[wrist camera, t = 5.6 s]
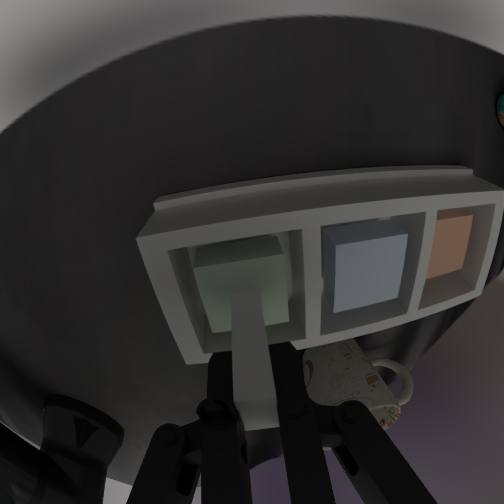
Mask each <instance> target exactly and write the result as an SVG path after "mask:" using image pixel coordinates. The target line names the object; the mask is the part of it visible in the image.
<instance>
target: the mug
mask: <svg viewBox="0 0 504 504" xmlns="http://www.w3.org/2000/svg"><path fill="white" fill-rule="evenodd" d="M377 365H381V366H385V367H388V368H390V369H392V370H394V371H395V372H396V373H398V374H399V376H400V377H401V379H402V381H403V388H402V391H401V393H400V394H399V395H396V396H393V394H392V393H391V391H390V390H389V388H388V387H387V385H386V384H385V382H384V381H383V380H382V378H381V377H380V375H379V374H378V372H377V371H376V369H375V368H374V366H377ZM303 369H304V379H305V385H306V389H307V393H308V395H309V397H310V398H311V399H312V400H313V401H314V402H316V403H318V404H320V405H328V406H338V405H340V404H341V403H342V402H345V401H348V400H357V401H360V402H362V403H363V404H364V405H366V406H367V408H368V409H369V410H370V412H371V413H372V415H373V416H374V417H375V419H376V420H377V421H378V423H379V424H380V425H381V427H382V428H383V430H385V429H387V428H388V427H389V426H391V425H392V424H393V423H394V422H395V421H396V419H397V418H398V417H399V415H400V413H401V408H400V405H402V404H404V403H406V402H407V401H408V400H409V399H410V397H411V395H412V392H413V380H412V377H411V375H410V373H409V371H408V370H407V369H406V368H405V367H404V366H402V365H401V364H399V363H398V362H395V361H392V360H389V359H386V358H375V359H370V360H369V359H368V358H367V356H366V355H365V354H364V352H363V351H362V349H361V348H360V346H359V345H358V344H357V342H356V341H355V340H354V338H350V339H346V340H342V341H337V342H333V343H328V344H324V345H319V346H315V347H310V348H307V349H306V350H305V352H304V355H303ZM323 450H332V449H331V447H323Z"/></svg>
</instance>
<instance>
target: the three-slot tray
mask: <svg viewBox="0 0 504 504" xmlns="http://www.w3.org/2000/svg"><path fill="white" fill-rule="evenodd" d="M153 204H154V208H155V211H154V213H153V214H152V215H151V217H150V218H149V220H148V221H147V222H146V224H145V225H144V227H143V228H142V230H141V231H140V232H139V234H138V235H137V237H136V240H137V244H138V247H139V250H140V252H141V255H142V258H143V261H144V264H145V267H146V270H147V272H148V275H149V278H150V280H151V283H152V286H153V288H154V291H155V294H156V296H157V299H158V301H159V304H160V306H161V309H162V311H163V313H164V316H165V318H166V321H167V323H168V325H169V327H170V330H171V332H172V334H173V337H174V339H175V341H176V343H177V345H178V348H179V350H180V352H181V354H182V356H183V358H184V360H185V362H186V365H188V364H200V363H208V362H209V360H210V358H211V356H212V354H213V352H222V351H231V350H232V331H225V332H217V333H212V330H211V327H210V324H209V320H208V317H207V314H206V311H205V308H204V304H203V301H202V298H201V294H200V291H199V288H198V284H197V281H196V277H195V274H194V270H193V266H194V261H195V256H196V251H197V248H202V247H208V246H215V245H221V244H227V243H233V242H240V241H246V240H252V239H259V238H265V237H272V236H277V238H278V240H279V243H280V245H281V248H282V251H283V253H284V262H285V274H286V286H287V298H288V312H289V322H284V323H278V324H273V325H266V326H265V329H266V335H267V342H268V345H270V344H276V343H282V342H288V341H290V342H291V343H292V345H293V346H294V347H295V348H296V350H300V349H305V348H310V347H315V346H319V345H324V344H328V343H333V342H337V341H342V340H346V339H350V338H354V337H358V336H362V335H365V334H369V333H373V332H376V331H380V330H383V329H387V328H390V327H394V326H397V325H400V324H403V323H407V322H410V321H413V320H416V319H419V318H422V317H425V316H428V315H431V314H433V313H436V312H439V311H442V310H445V309H447V308H450V307H452V306H455V305H458V304H460V303H463V302H465V301H468V300H470V299H472V298H475V297H477V296H480V295H481V293H482V290H483V287H484V284H485V281H486V278H487V275H488V272H489V269H490V265H491V262H492V258H493V255H494V251H495V247H496V243H497V239H498V235H499V230H500V225H501V220H502V215H503V209H504V189H502V188H500V187H498V186H496V185H494V184H492V183H490V182H487V181H485V180H483V179H481V178H478V177H476V176H474V175H473V169H470V168H468V167H465V166H462V165H417V166H388V167H370V168H355V169H342V170H330V171H320V172H310V173H301V174H292V175H284V176H276V177H269V178H262V179H255V180H248V181H241V182H235V183H229V184H223V185H217V186H211V187H206V188H200V189H195V190H190V191H185V192H180V193H175V194H170V195H165V196H160V197H158V198H157V199H156V201H155V202H154V203H153ZM460 207H461V208H463V209H464V210H466V211H468V212H469V213H471V214H473V219H472V225H471V231H470V236H469V240H468V245H467V250H466V254H465V258H464V262H463V266H462V269H459V270H455V271H452V272H449V273H445V274H442V275H438V276H435V277H431V278H428V279H426V275H427V270H428V266H429V261H430V256H431V250H432V245H433V239H434V232H435V226H436V218H437V210H443V209H451V208H460ZM387 219H390V220H392V221H393V222H394V223H395V224H397V225H398V226H399V227H401V228H402V229H403V230H404V231H406V232H407V233H408V239H407V246H406V253H405V260H404V266H403V272H402V278H401V283H400V288H399V293H398V298H394V299H390V300H387V301H383V302H379V303H375V304H371V305H367V306H362V307H358V308H354V309H349V310H345V311H340V312H336V313H333V311H332V309H331V307H330V305H329V302H328V300H327V298H326V296H325V294H324V292H323V287H324V250H323V229H324V228H331V227H338V226H345V225H352V224H359V223H366V222H373V221H380V220H387Z"/></svg>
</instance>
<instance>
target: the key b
mask: <svg viewBox="0 0 504 504" xmlns="http://www.w3.org/2000/svg"><path fill="white" fill-rule="evenodd" d="M407 239H408V233H407V232H406V231H404V230H403V229H402V228H401V227H399V226H398V225H397V224H395V223H394V222H393V221H392V220H390V219H387V220H380V221H373V222H366V223H359V224H352V225H345V226H338V227H331V228H324V229H323V250H324V287H323V292H324V294H325V296H326V298H327V300H328V302H329V305H330V307H331V309H332V311H333V313H336V312H340V311H345V310H349V309H354V308H358V307H362V306H367V305H371V304H375V303H379V302H383V301H387V300H390V299H394V298H398V293H399V288H400V283H401V278H402V272H403V266H404V260H405V253H406V246H407Z"/></svg>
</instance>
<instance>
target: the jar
mask: <svg viewBox="0 0 504 504" xmlns="http://www.w3.org/2000/svg"><path fill="white" fill-rule="evenodd" d="M497 114H498V118H499V120H500V123H501V124H502V126H503V127H504V94H502V95H501V96H500V97H499V99H498V101H497Z"/></svg>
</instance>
